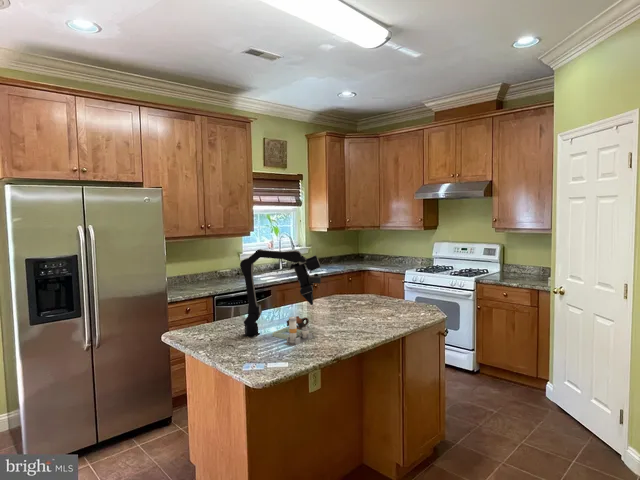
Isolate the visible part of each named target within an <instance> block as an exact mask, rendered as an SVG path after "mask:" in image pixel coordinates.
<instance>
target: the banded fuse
mask: <svg viewBox="0 0 640 480" xmlns="http://www.w3.org/2000/svg"><path fill="white" fill-rule="evenodd" d="M288 320H289V326H288V328H289V332H288V333H289V335H290V344H295V339H296V338H298V336H297V328H298V327H297V324H296V316H290V317H288Z"/></svg>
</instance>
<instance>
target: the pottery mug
mask: <svg viewBox="0 0 640 480" xmlns="http://www.w3.org/2000/svg"><path fill="white" fill-rule="evenodd" d="M295 317H296V325H298V327H297V329H298V330H302V327H307V325H309V322H310V320H309V318H308V317H302V318H300V317H299V315H298V316H295ZM286 327H289V319H287V320H286Z"/></svg>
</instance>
